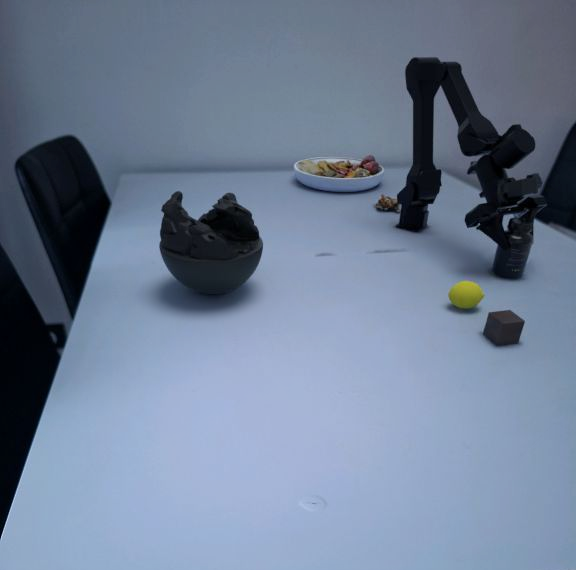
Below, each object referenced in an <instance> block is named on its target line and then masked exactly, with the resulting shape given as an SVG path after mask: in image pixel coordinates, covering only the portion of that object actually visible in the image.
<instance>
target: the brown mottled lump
mask: <svg viewBox="0 0 576 570" xmlns="http://www.w3.org/2000/svg"><path fill="white" fill-rule="evenodd" d="M380 197H381V198H380V199H378V200H377V202H376V203H375V208H379V209H381V210H388V209H395V212H396V213H398V214H400V212H401V209H400V208H399V205H400V204H398V203H397V198H393V197H391V196H385V194H383V193H381V196H380Z"/></svg>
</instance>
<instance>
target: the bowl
mask: <svg viewBox="0 0 576 570" xmlns="http://www.w3.org/2000/svg"><path fill="white" fill-rule="evenodd" d="M293 172H294V176H295V178H296V180H297V181H298V182H300V183H301V184H302V185H304V186H306V187H308V188H312V189H314V190H319V191H325V192H332V193H333V192H335V193H353V192H361V191H367V190H370V189H373V188H375V187H376V186H377V185H379V184H380V183H381V182H382V180H383V178H384V176H385V168H384V167H383V166H382V165H380V164H379V163H378V162H377V161H376V158H375V156H374V155H372V154H368V155H366V156H364V158H363V159H359V158H354V157H342V156H322V157H321V156H320V157H311V158H310V157H309V158H305V159H301V160H298V161H297V162H295V163H294V165H293Z"/></svg>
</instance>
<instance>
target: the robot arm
mask: <svg viewBox="0 0 576 570" xmlns="http://www.w3.org/2000/svg"><path fill="white" fill-rule="evenodd" d="M462 71H463V67H462V64H461V63H460V62H458V61H455V60H454V61H453V60H452V61H441V60H440V58H439V57H437V56H413V57H412V58H411V59H410V60H409V61H408V64H406V66H405V70H404V77H405V78H404V79H405V86H406V88H405V89H406V91H407V92H408V94H409V96H410V98H411V100H412V165H411V167H410V169H409V170H408V173H407V175H406V179H405V186H404V187H403V188H402V189H401V190H400V191H399V192H398V193H397V194H396V199H397V203H398V204H399V205H401V207H400V212H399V220H398V223H397V224H395V227H397V228H400V229H404V230H408V231H412V232H420V231H421V230H423V229H425V228H426V227H428V220H429V214H430V210H428V209H429V205H434V204H435V201H436V198H438V195H439V194H440V191H441V187H442V186H443V185H442V174H443V173H442V172H443V171H442V169H441V168H439V169H438V168H437V167H436V165H435V163H434V131H435V130H434V125H435V120H434V119H435V98H436V95H437V93H438V92H439V90H440V87H441V89H442V92H443V94H444V96H445V98H446V101H447V103H448V105H449V107H450V110H451V112H452V115H453V116H454V119H455V121H456V123H457V127H458V129H457V134H456V138H457V142H458V145H459V149H460V151H461V154H462V155H463V156H464V157H469V158H471V157H479V158H478V159H477V160H472V161H470V164H469V167H468V168H467V171H466V175H468V176H469V175H476V178H477V181H478V183H479V186H480V188H481V192H479V193H478V196H479V198H480V199H483V198H484V200H485V202H484V203H478V204H477V205H476V206H475V207H473V208H472V209H471V210H469V211H468V212H467V213H466V214H465V217H464V220H463V221H464V223H465V226H466V228H467V229H470V228H471V229H472V228H475V229H476V231H480V232H482V233H483V235H485V236H487V237H488V238H489V239H490V240H492V241H493V242H494V243H495V244H496V245H497V246H498V245H499V246H500V247H501V248H502V249H503V250H505V251H506V250H508V249H509V244H508V240H507V237H506V234H505V228H504V225H503V221H504V216H510V215H513V218H514V217H521V218H526V219H529V220H531V221H533V226H532V230H531V232H529V233H530V234H531V235H532V236H533V237H534V230H535V229H534V225H535V217H536V215H537V214H538V213H539V212H540V211H541V210H542V209H543V208H546V207H547V206H548V203H547V200H546V197H545V196H544V195H540V194H538V193H539V189H541V188H542V187H543V183H544V182H543V180H542V178H541V176H540V174H539V172H536V173H531V174H527V175H526V177H525V178H521V179H516V178H515V177H509V175H508V172H507V170H511V169H514V168H515V167H516V166H517V165H518V164H520V163H521V162H522V161H523V160H524V159H526V158H527V157H528V156H529V155H531V154H532V153H533V152H535V149H536V140H535V138H534V136H532V134H531V133H530V132H528V131H527V130H526V129H524V128H523V127H522V125H521V124H520V123H515V124H512V125H510V127H509V128H508V129H507V130H506V131H505V132H504V133H503V134H502V135H501V134H499V132H498V130H497V128H496V127H495V126H494V124H493V123H492V122H491V121H492V120H489V119H488V118H487V117H486V116H484V115H483V114H482V113H481V112H480V110H479V108H478V105H477V103H476V101H475V99H474V97H473V94H472V92H471V90H470V87H469V85H468V82H467V81H466V78H465V76H464V73H463V72H462ZM532 194H534V195H532ZM536 194H537V195H536ZM526 195H530V196H527V197H525V196H526ZM520 201H521V202H520ZM518 202H519V203H518ZM532 245H534V242H533V243H532Z"/></svg>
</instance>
